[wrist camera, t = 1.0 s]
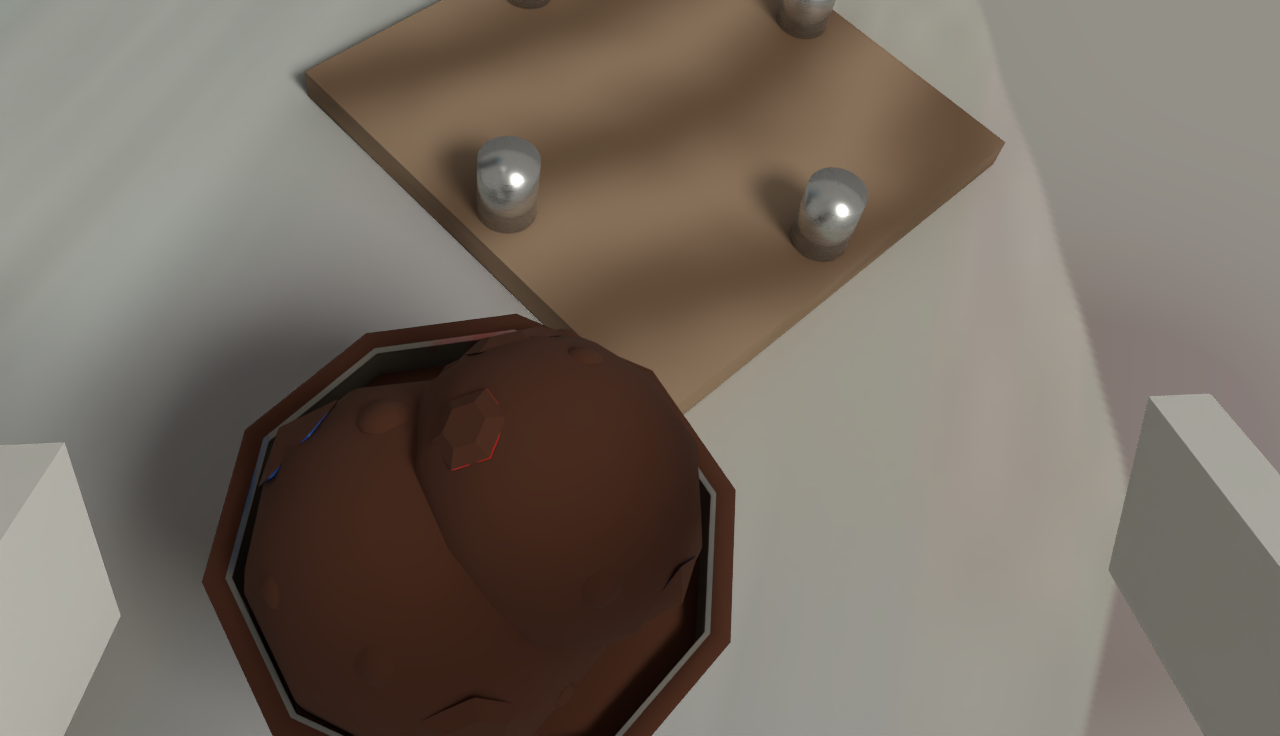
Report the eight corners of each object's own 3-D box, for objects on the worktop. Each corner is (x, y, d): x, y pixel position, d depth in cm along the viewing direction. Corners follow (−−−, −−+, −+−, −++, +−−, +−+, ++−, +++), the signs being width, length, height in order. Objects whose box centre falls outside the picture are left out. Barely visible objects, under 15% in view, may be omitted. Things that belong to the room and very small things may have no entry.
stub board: (308, 95, 43) (296, 16, 40) (662, -94, 51) (675, -172, 48) (657, 435, 37) (675, 374, 34) (993, 164, 45) (1032, 94, 42)
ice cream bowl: (545, 433, 37) (589, 84, 24) (746, 751, 33) (927, 529, 20) (211, 591, 33) (56, 274, 20) (389, 977, 29) (332, 879, 16)
